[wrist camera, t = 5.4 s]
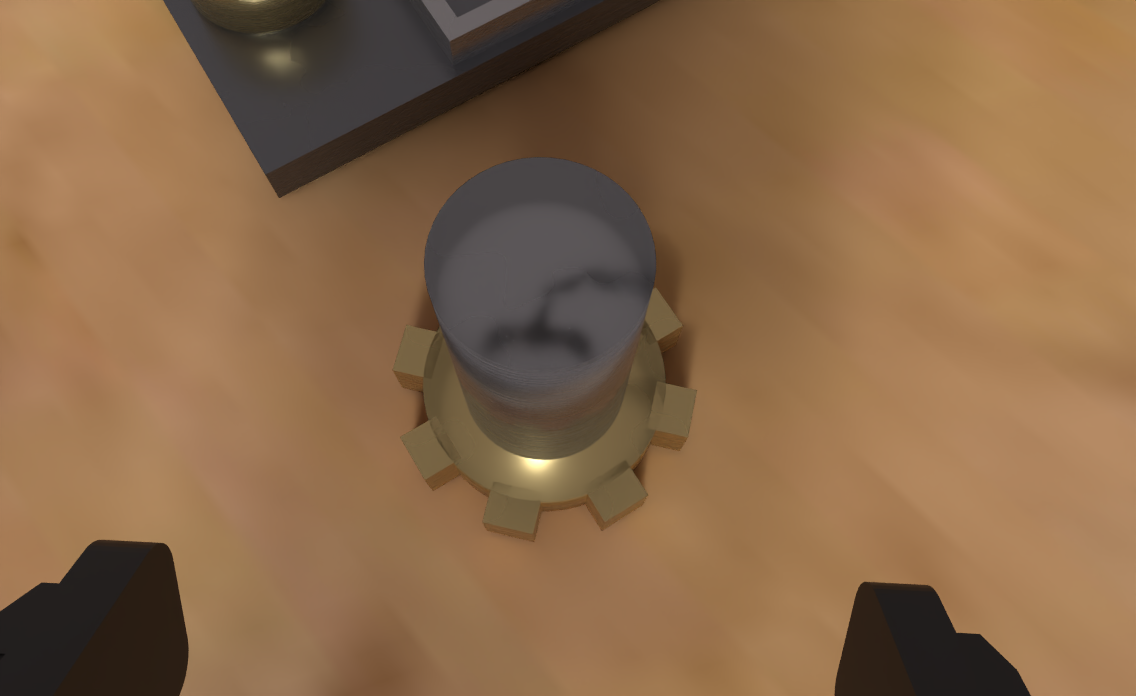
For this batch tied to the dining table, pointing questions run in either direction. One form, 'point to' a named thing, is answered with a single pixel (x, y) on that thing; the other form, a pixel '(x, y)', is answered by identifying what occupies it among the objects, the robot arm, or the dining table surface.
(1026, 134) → the dining table surface
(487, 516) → the gear
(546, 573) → the dining table surface
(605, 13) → the tray
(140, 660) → the robot arm
